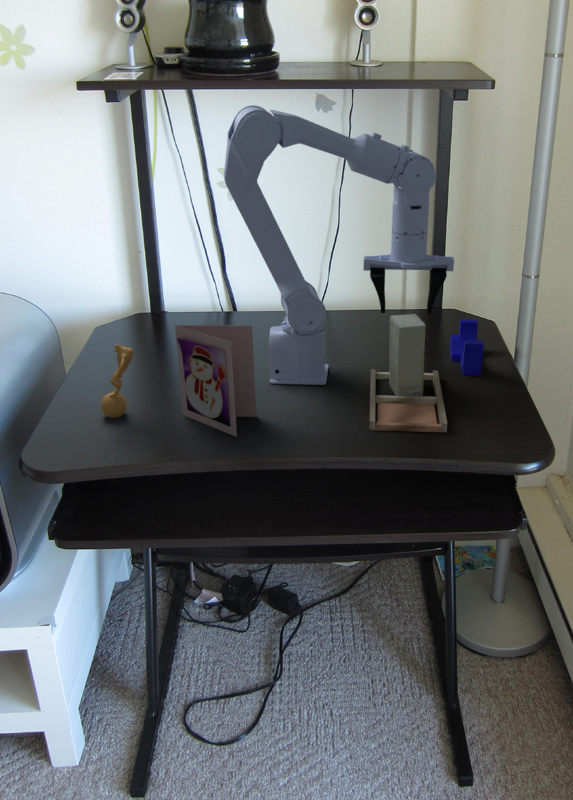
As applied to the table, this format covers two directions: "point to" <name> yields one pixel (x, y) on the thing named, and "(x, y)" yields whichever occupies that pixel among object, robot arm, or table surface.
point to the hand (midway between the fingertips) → (406, 311)
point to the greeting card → (216, 374)
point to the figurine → (117, 385)
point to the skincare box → (406, 355)
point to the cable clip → (467, 348)
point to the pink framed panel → (407, 408)
